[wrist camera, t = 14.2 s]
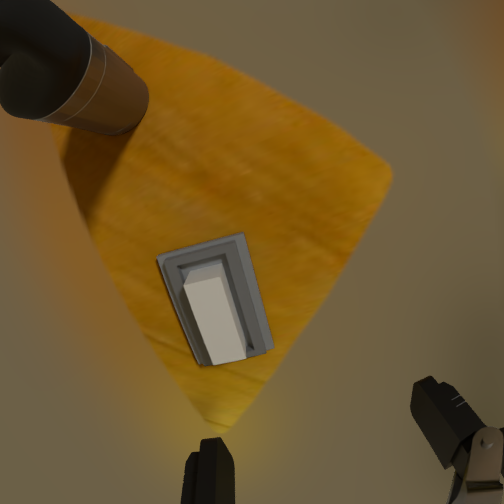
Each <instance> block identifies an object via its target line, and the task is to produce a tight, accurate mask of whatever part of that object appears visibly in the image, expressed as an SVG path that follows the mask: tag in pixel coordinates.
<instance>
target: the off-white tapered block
mask: <svg viewBox="0 0 504 504" xmlns="http://www.w3.org/2000/svg"><path fill="white" fill-rule="evenodd" d="M183 286H184V289H185V291H186V294H187V297H188V300H189V303H190V306H191V308H192V311H193V314H194V316H195V319H196V322H197V324H198V327H199V330H200V332H201V335H202V338H203V340H204V343H205V345H206V348H207V350H208V353H209V355H210V358H211V360H212V363H213V365H217V364H222V363H227V362H232V361H237V360H242V359H246V346H245V337H244V333H243V330H242V327H241V324H240V321H239V317H238V314H237V311H236V308H235V304H234V301H233V298H232V294H231V291H230V288H229V284H228V281H227V278H226V274H225V271H224V267H223V264H222V263H221V264H217V265H213V266H209V267H205V268H201V269H197V270H193V271H190V272H189V274H188V276H187V279H186V281H185V283H184V285H183Z"/></svg>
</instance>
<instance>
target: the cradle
mask: <svg viewBox="0 0 504 504" xmlns="http://www.w3.org/2000/svg"><path fill="white" fill-rule="evenodd" d="M157 260H158V263H159V266H160V268H161V271H162V274H163V277H164V280H165V282H166V285H167V288H168V290H169V293H170V296H171V298H172V301H173V304H174V306H175V309H176V311H177V314H178V316H179V319H180V321H181V324H182V326H183V329H184V331H185V334H186V336H187V338H188V341H189V343H190V345H191V348H192V350H193V352H194V355H195V357H196V359H197V362H198V364H204V366H208V365H213V363H212V360H211V358H210V355H209V353H208V350H207V348H206V345H205V343H204V340H203V338H202V335H201V332H200V330H199V327H198V324H197V322H196V319H195V316H194V314H193V311H192V308H191V306H190V303H189V300H188V297H187V294H186V291H185V289H184V286H183V285H184V283H185V281H186V279H187V276H188V274H189V272H190V271H193V270H197V269H201V268H205V267H209V266H213V265H217V264H221V263H222V264H223V267H224V271H225V274H226V278H227V281H228V284H229V288H230V291H231V294H232V298H233V301H234V304H235V308H236V311H237V314H238V317H239V321H240V324H241V327H242V330H243V333H244V337H245V346H246V358H248V357H252V356H256V355H261V354H265V353H266V350H269V349H273V348H274V344H273V340H272V336H271V333H270V329H269V325H268V322H267V318H266V314H265V310H264V307H263V303H262V299H261V296H260V292H259V288H258V284H257V281H256V277H255V273H254V269H253V266H252V262H251V258H250V255H249V251H248V247H247V243H246V240H245V236H244V232H241V233H237V234H233V235H230V236H226V237H222V238H218V239H215V240H211V241H207V242H203V243H200V244H196V245H192V246H188V247H185V248H181V249H177V250H174V251H170V252H167V253H163V254H159V255H158V256H157Z"/></svg>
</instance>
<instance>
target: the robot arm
mask: <svg viewBox="0 0 504 504" xmlns="http://www.w3.org/2000/svg"><path fill="white" fill-rule="evenodd" d="M0 67H1V69H0V104H1V106H2V107H3V109H4V110H5V111H6V112H7V113H9V114H10V115H12V116H15V117H19V118H25V119H31V120H37V121H42V122H48V123H54V124H59V125H64V126H69V127H74V128H79V129H84V130H88V131H93V132H97V133H102V134H105V135H119V134H123V133H125V132H127V131H129V130H131V129H132V128H133V127H134V126H136V125H137V124H138V122H139V121H140V120H141V119H142V117H143V116H144V114H145V112H146V109H147V107H148V102H149V93H148V89H147V86H146V84H145V82H144V81H143V80H142V79H141V78H140V77H139V76H138V75H137V74H135V73H134V72H133V69H132V68H131V67H130V66H129V65H128V64H127V63H126V62H125V61H124V60H123V59H121V58H120V57H119V56H118V55H117V54H116V53H115V52H114V51H113V50H111V49H110V48H109V47H108V46H106V45H102V44H101V43H100V42H99V41H97V40H96V39H95V38H94V37H92V36H91V35H90V34H89V33H88V32H86V31H85V30H84V29H83V28H82V27H81V26H79V25H78V24H77V23H76V22H75V21H73V20H72V19H71V18H70V17H69V16H68V15H67V14H66V13H65V12H64V11H62V10H61V9H60V8H59V7H58V6H56V5H55V4H54V3H53V2H51V1H50V0H0ZM410 409H411V413H412V416H413V418H414V419H415V421H416V423H417V424H418V426H419V427H420V429H421V431H422V432H423V434H424V436H425V437H426V439H427V440H428V442H429V443H430V445H431V447H432V449H433V450H434V452H435V454H436V455H437V457H438V459H439V460H440V462H441V464H442V466H443V467H444V469H447V468H449V467H451V466H452V465H453V466H454V468H455V472H454V476H453V480H452V484H451V489H450V492H449V496H448V499H447V503H446V504H501V501H502V496H503V489H504V488H503V484H501V483H500V473H501V474H502V476H503V477H504V428H500V429H498V428H496V427H492V426H486V425H485V424H484V423H483V422H482V421H481V419H480V418H479V417H478V416H477V414H476V413H475V412H474V411H473V410H472V408H471V407H470V406H469V405H468V403H467V402H465V400H464V399H463V398H462V396H460V394H459V393H458V391H457V390H456V389H455V388H454V387H453V386H451V385H449V384H447V383H445V382H442V383H440V384H438V383H437V381H436V380H435V379H434V378H433V377H432V376H428V377H426V378H424V379H421V380H420V381H418V382H415V383H414V385H413V391H412V398H411V404H410ZM184 473H185V475H184V480H183V481H184V483H183V488H182V496H181V504H235V468H234V461H233V458H232V455H231V454H230V452H229V450H228V449H227V447H226V445H225V444H224V442H223V440H222V439H221V438H220V437H217V438H209V439H202V440H201V443H200V452H192V453H191V454H190V456H189V458H188V459H187V461H186V464H185V472H184Z"/></svg>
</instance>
